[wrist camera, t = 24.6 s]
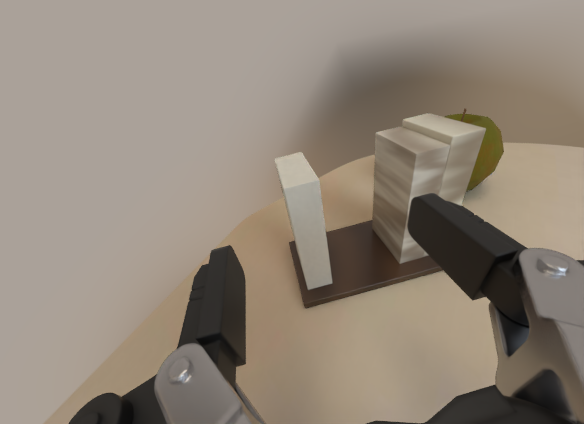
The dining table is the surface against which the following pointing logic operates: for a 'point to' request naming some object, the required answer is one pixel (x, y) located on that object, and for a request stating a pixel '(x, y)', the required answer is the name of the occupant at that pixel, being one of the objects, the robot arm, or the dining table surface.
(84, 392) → the dining table surface
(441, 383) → the dining table surface
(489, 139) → the apple
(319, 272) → the white book
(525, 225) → the dining table surface
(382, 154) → the white book stand
